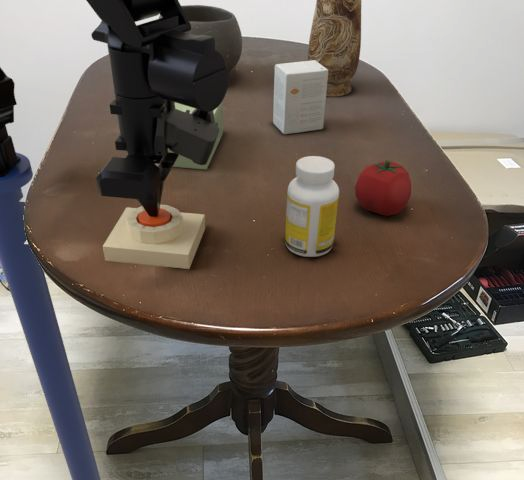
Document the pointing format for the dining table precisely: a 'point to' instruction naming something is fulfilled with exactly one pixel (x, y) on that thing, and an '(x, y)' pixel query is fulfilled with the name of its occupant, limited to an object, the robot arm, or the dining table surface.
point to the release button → (154, 218)
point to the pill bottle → (311, 207)
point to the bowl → (217, 30)
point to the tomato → (383, 188)
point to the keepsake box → (189, 163)
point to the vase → (336, 42)
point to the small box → (299, 96)
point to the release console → (155, 239)
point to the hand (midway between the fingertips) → (154, 215)
